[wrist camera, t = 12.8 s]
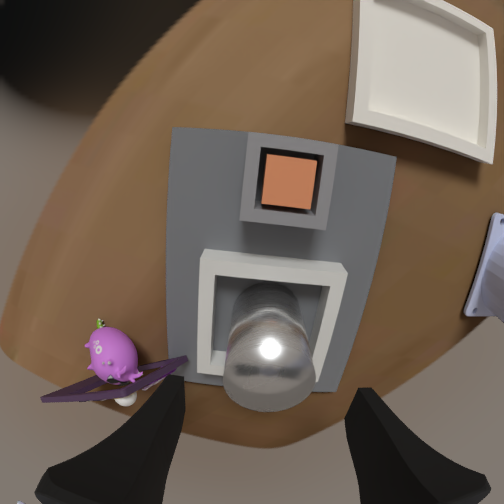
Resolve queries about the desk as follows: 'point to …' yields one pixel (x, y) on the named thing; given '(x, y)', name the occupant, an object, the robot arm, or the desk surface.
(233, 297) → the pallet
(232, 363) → the cylinder
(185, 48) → the desk surface
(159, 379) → the eggplant monster toy
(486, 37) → the tray
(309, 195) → the button
